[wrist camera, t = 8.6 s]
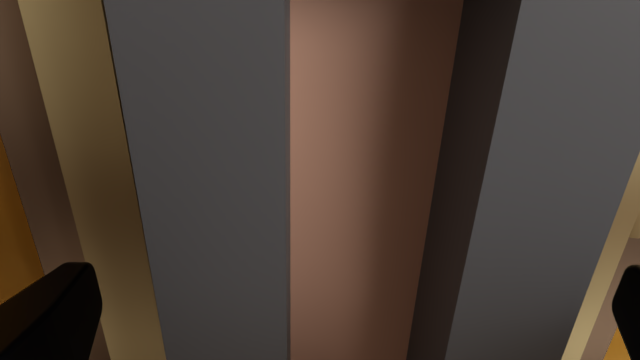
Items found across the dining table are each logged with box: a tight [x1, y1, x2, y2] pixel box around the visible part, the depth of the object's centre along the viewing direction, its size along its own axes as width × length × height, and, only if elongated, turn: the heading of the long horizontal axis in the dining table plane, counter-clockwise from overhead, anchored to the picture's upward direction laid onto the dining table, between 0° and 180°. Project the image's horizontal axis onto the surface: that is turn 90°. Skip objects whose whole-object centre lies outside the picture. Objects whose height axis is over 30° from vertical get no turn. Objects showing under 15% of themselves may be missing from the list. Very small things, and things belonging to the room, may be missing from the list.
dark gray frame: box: [103, 0, 640, 360], centre depth 9 cm, size 14×6×4 cm, turn 178°
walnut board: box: [0, 0, 640, 360], centre depth 11 cm, size 20×14×3 cm
